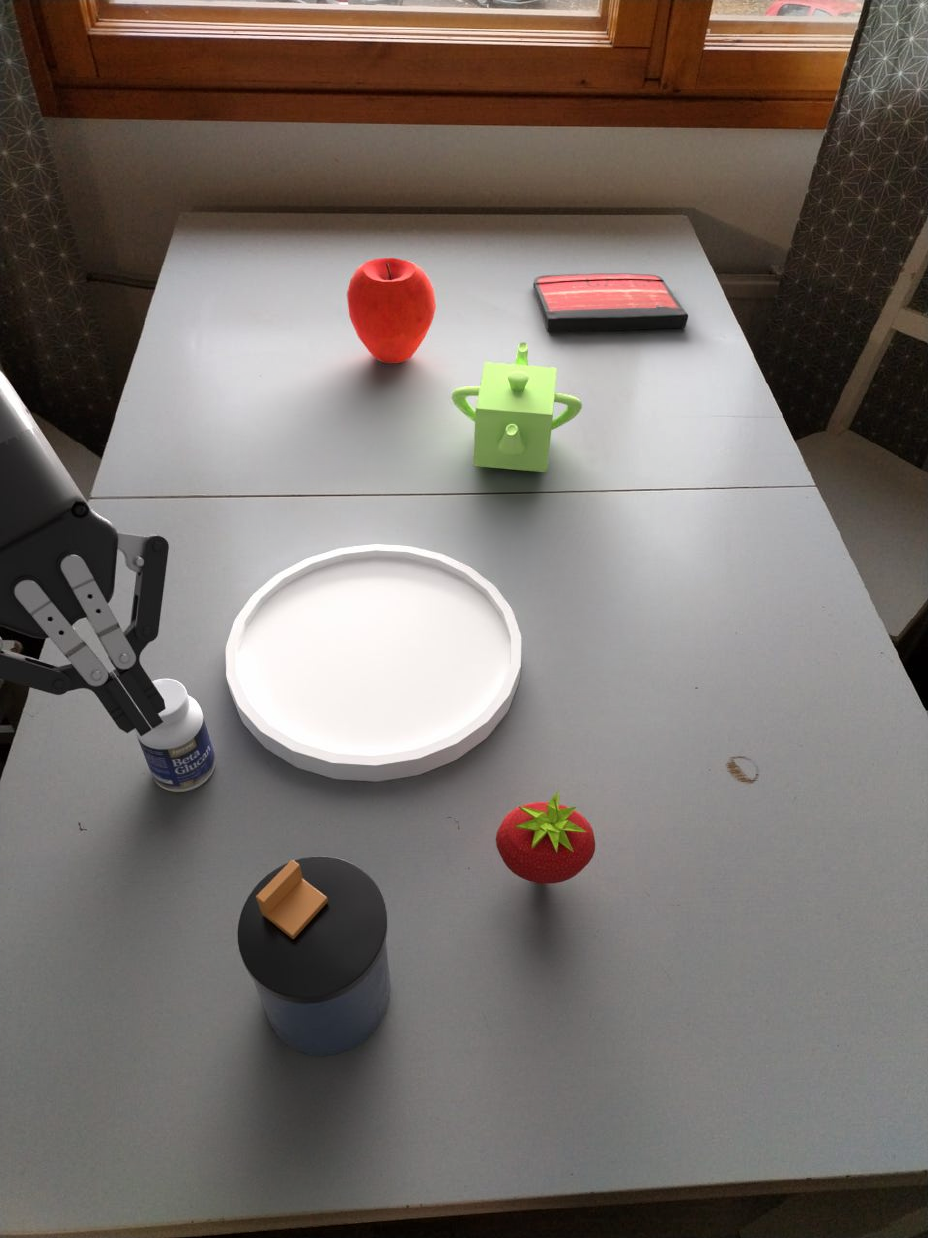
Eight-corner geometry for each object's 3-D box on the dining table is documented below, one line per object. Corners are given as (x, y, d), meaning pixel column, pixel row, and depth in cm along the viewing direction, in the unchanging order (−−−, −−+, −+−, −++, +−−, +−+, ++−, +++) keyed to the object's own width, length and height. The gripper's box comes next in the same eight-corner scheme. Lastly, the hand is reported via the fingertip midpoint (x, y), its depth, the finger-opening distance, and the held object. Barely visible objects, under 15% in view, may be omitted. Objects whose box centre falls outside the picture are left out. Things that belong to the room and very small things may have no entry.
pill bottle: (187, 804, 75) (161, 735, 68) (139, 776, 77) (109, 706, 69) (229, 758, 78) (209, 688, 71) (183, 733, 80) (158, 661, 73)
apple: (431, 332, 130) (430, 241, 120) (440, 375, 122) (440, 281, 112) (349, 336, 129) (342, 244, 119) (353, 380, 121) (346, 285, 111)
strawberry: (492, 840, 73) (499, 771, 66) (584, 844, 73) (601, 775, 66) (491, 908, 69) (498, 842, 62) (589, 912, 69) (606, 847, 62)
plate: (168, 667, 85) (162, 650, 83) (375, 525, 100) (374, 508, 98) (377, 842, 73) (375, 826, 71) (578, 651, 88) (581, 634, 86)
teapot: (518, 406, 117) (524, 331, 110) (594, 452, 111) (606, 376, 103) (430, 450, 110) (430, 374, 102) (506, 503, 103) (512, 425, 96)
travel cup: (234, 1002, 64) (205, 936, 56) (324, 904, 69) (309, 830, 61) (331, 1089, 60) (315, 1030, 52) (419, 977, 65) (416, 909, 57)
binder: (689, 313, 131) (548, 318, 129) (686, 328, 132) (546, 333, 131) (660, 269, 142) (530, 272, 140) (658, 283, 144) (529, 287, 142)
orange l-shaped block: (261, 914, 57) (255, 896, 55) (296, 877, 58) (292, 859, 57) (293, 940, 56) (288, 923, 54) (328, 901, 57) (325, 884, 56)
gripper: (-180, 519, 40) (46, 816, 46) (91, 389, 44) (266, 673, 50) (-155, 518, 47) (40, 777, 52) (79, 404, 51) (234, 654, 57)
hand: (150, 726), depth 51 cm, fingers closed
